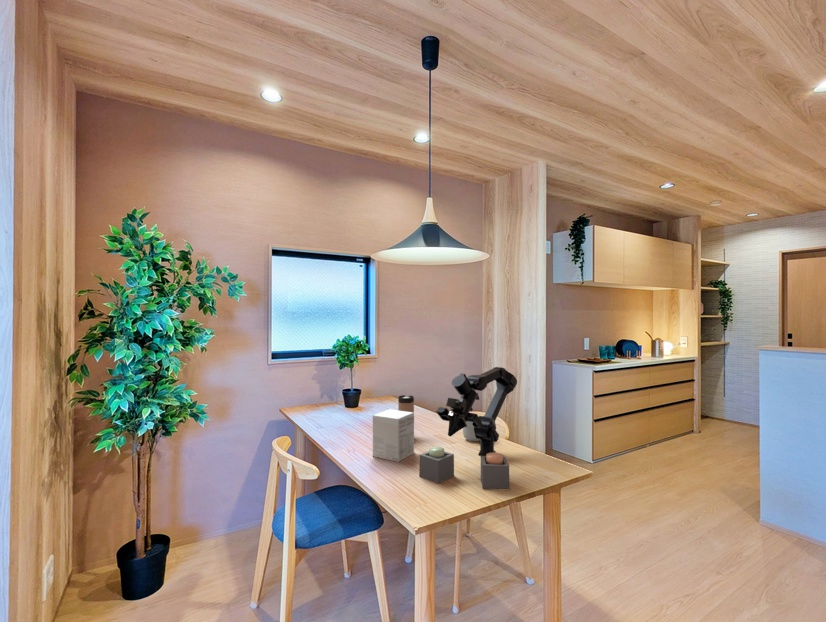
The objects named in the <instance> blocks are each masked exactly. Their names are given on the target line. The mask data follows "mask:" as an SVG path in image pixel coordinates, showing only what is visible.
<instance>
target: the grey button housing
mask: <svg viewBox="0 0 826 622" xmlns="http://www.w3.org/2000/svg"><path fill="white" fill-rule="evenodd" d="M418 458H419V460H418V461H419V467H418V469H419V470H418V472H419V478H422V479H425V480H427V481H431V482H433V483H435V484H441V483H442V482H445V481H447V480H449V479H451V478H453V477H455V453H450V452H448V451H444V457H441V458H439V459H437V458H434V457H430V456H429V450H428V451H425V452H423V453H421V454H419V457H418Z"/></svg>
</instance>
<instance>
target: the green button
mask: <svg viewBox="0 0 826 622" xmlns="http://www.w3.org/2000/svg"><path fill="white" fill-rule="evenodd" d="M428 451H429V456H430V457H434V458H437V459H439V458H441V457H444V452H445V448H444V447H442V446H432V447H429V448H428Z"/></svg>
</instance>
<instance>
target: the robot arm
mask: <svg viewBox="0 0 826 622" xmlns="http://www.w3.org/2000/svg"><path fill="white" fill-rule="evenodd" d="M494 381H495V385H496V391H495V393H494V395H493V397H492V398H491V400H490V403H489V406H488V407H487V410H486V411H485V414H484V415H478V414H477V413H474V412H473V410H474V409H473V405H474V404H475V401H479V400H480V396H479V393H478V392H477V391H481V392H482V391H484V390H485V389H486V388H488V387H487V386H488V384H490V383H491V382H494ZM517 384H518V380H517V378H516V376H515V375H514V374H512V373H511V372H509V371H508V370H507V369H506V368H504V367H500V366H495V367H493V368H491V369H489V370H488V371H485V372H483V373H480V374H471V375H468V376H467V375H466V374H465V373H464V372H463V373H461V372H460V374H459V375H457V376H455V377H454V378H452V381H451V385H452V386H453V388H454V389H455V391H456V392H457V394H459V395H460V398H452V397H448V398H447V400H446V404H445V405H446V407H443V406H439V407H438V408H437V409H436V411H435V413H436V414H437V415H438V417H439V418H440V419H441V420H443V421H446V422H448V430H447V435H448V437H452V436H453V435H455V434H456V433H458V432H459V431H461V430H463V428H464V427H467V423H468V422H473V426H474V432H475V437H476V438H478V439H480V441H479V442H480V445H479V446H480V448H479V452H478V456H486V454H488V453H496V450H495V442H498V440H499V437H500V434H499V433H498V431H497V424H496V419H497V417H498V416H499V413H500V412H501V409H502V406H503V404H504V402H505V400H506V398H507V396H508V395H509V394H511V393H512V392H513V391H514V390H515V388H516V386H517ZM448 407H449V408H450V409H448ZM450 410H451V411H450Z"/></svg>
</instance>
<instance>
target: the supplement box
mask: <svg viewBox="0 0 826 622" xmlns="http://www.w3.org/2000/svg"><path fill="white" fill-rule="evenodd" d="M414 453H415V411H414V412H406V411H398V409H390V408H389V409H386V410H383V411H381V412H378V413H375V414H372V457H373V456H374V458H378V457H379V458H378V459H383V460H388V461H393V462H397V463H398V462H401V461H402V460H404V459H406V458H408V457H409V456H411V455H413V454H414Z"/></svg>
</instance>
